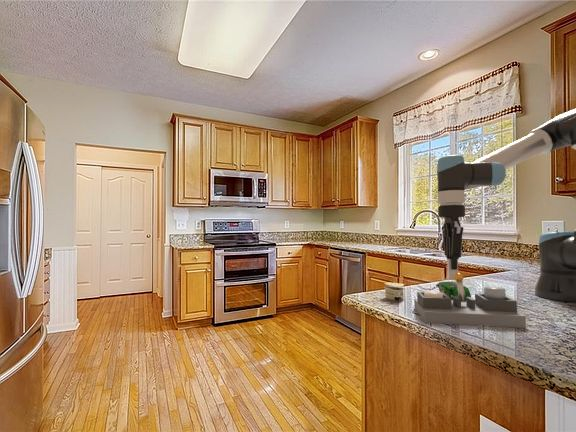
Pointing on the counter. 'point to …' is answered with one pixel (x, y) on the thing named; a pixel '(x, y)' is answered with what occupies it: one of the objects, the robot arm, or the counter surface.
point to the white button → (433, 294)
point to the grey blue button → (494, 293)
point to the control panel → (469, 311)
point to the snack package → (452, 289)
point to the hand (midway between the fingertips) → (452, 279)
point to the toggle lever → (460, 286)
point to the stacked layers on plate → (394, 291)
